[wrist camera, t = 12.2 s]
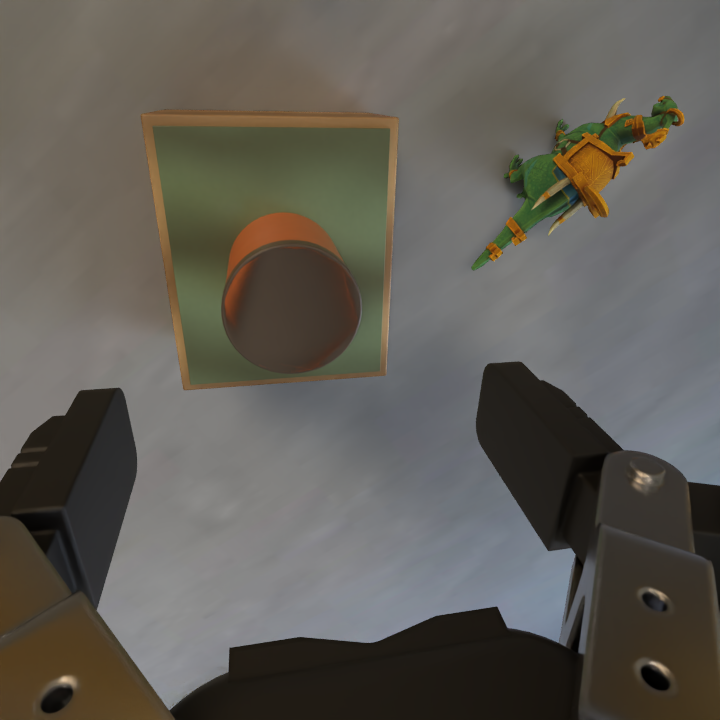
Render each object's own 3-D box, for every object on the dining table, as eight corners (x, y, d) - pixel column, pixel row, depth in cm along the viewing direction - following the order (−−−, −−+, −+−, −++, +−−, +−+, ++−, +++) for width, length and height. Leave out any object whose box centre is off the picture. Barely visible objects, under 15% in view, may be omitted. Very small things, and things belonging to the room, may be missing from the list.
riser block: (163, 109, 25) (138, 113, 19) (369, 112, 26) (400, 117, 21) (195, 338, 30) (182, 393, 25) (364, 329, 32) (387, 377, 26)
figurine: (624, 121, 29) (747, 130, 22) (455, 264, 31) (517, 315, 24) (601, 72, 28) (724, 66, 20) (426, 225, 30) (481, 268, 22)
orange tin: (221, 212, 21) (213, 245, 17) (339, 209, 22) (363, 241, 17) (233, 322, 24) (228, 379, 19) (339, 316, 24) (360, 370, 20)
